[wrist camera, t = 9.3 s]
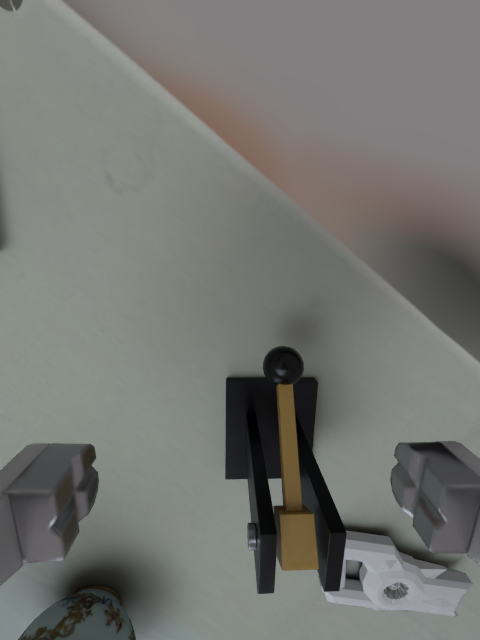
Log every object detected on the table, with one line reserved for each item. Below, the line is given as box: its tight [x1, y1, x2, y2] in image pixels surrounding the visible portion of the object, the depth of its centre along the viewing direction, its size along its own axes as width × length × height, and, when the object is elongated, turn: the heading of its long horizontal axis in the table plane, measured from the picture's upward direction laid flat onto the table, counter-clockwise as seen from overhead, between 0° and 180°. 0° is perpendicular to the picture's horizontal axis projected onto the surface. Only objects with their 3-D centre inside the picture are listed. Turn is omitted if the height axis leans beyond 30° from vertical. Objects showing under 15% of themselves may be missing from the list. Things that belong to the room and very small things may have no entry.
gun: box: [319, 531, 472, 617], centre depth 34 cm, size 18×3×10 cm
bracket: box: [226, 378, 347, 594], centre depth 23 cm, size 11×9×14 cm
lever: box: [263, 346, 319, 571], centre depth 20 cm, size 14×3×3 cm
